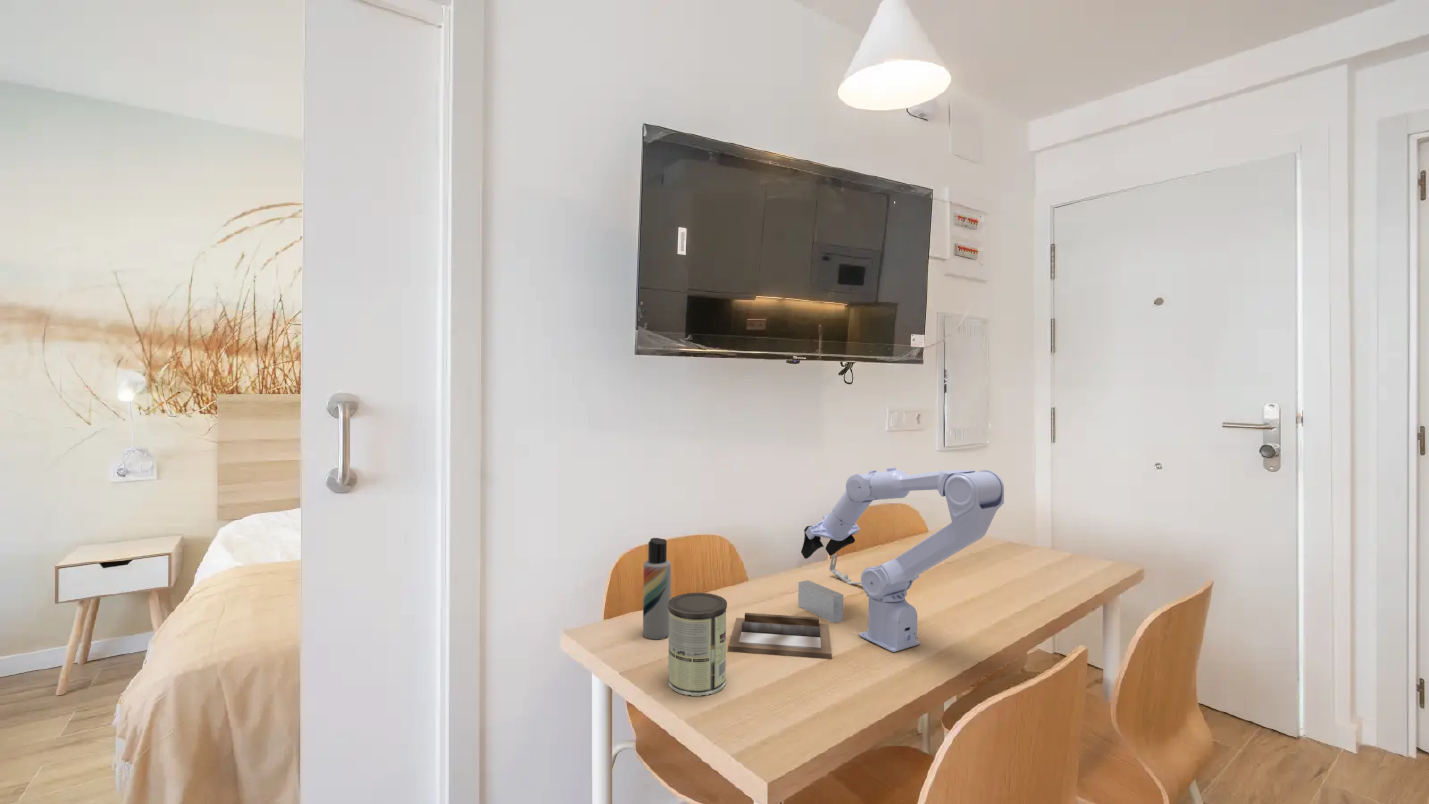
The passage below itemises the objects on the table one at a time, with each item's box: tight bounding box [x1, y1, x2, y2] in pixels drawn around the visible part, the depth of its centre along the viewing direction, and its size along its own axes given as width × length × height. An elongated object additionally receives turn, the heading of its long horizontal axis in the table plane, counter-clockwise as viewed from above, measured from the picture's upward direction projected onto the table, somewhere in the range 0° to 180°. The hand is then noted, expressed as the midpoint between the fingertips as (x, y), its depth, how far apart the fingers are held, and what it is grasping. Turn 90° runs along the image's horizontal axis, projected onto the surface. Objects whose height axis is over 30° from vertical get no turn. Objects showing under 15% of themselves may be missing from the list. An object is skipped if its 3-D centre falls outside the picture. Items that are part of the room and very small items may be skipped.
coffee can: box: [667, 592, 728, 697], centre depth 104 cm, size 10×10×14 cm
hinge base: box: [727, 612, 833, 660], centre depth 122 cm, size 20×15×3 cm
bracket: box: [829, 554, 862, 585], centre depth 159 cm, size 2×6×15 cm
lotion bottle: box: [642, 537, 672, 640], centre depth 124 cm, size 6×6×20 cm
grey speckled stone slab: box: [797, 579, 844, 624], centre depth 137 cm, size 12×3×6 cm, turn 32°
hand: (816, 553), depth 139 cm, fingers open, 7 cm apart
